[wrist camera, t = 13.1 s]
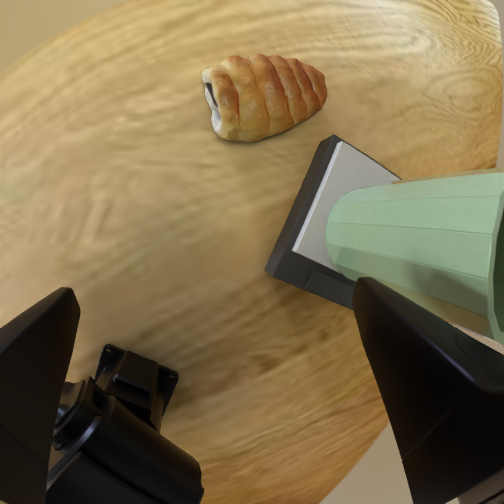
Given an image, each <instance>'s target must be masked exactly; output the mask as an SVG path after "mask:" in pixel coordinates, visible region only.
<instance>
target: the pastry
mask: <svg viewBox="0 0 504 504" xmlns="http://www.w3.org/2000/svg"><path fill="white" fill-rule="evenodd" d="M202 79H203V82H204V84H205V86H206V88H205V96H206V100H207V101H208V103H209V106H210V108H211V110H212V112H213V113H212V125H213V127H214V131H215V132H216V133H217V134H218V135H219V136H220V137H221V138H224V139H227V140H232V141H246V142H255V141H259V140H261V139H263V138H265V137H268V136H272V135H274V134H278V133H281V132H284V131H286V130H287V129H289V128H291V127H293V126H295V125H296V124H297V123H299V122H302V121H303V120H305V119H308V118H309V117H310V116H312V115H314V114H315V113H316V112H318V111H319V110H321V109H322V107H323V105H324V103H325V101H326V98H327V89H326V85H325V77H324V74H323V73H321V72H320V71H318V70H316V69H315V68H314V67H313V66H311V65H308V64H305V63H302V62H300V61H298V60H297V59H295V58H288V59H284V58H282V57H281V56H279V55H272V56H265V55H263V54H255V55H252V56H251V57H248V58H242V57H240V56H231V57H228V58H227V59H225V60H224V61H222V62H221V63H219V64H217V65H214V66H212V67H207V68H205V69H204V71H203V74H202Z"/></svg>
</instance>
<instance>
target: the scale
mask: <svg viewBox="0 0 504 504" xmlns="http://www.w3.org/2000/svg"><path fill="white" fill-rule="evenodd" d="M397 180H402V179H401V178H399V177H398V176H397V175H395V174H394V173H392V172H391V171H390V170H388V169H387V168H385V167H384V166H382V165H381V164H379V163H378V162H377V161H375V160H374V159H372V158H371V157H369V156H368V155H366V154H364V153H363V152H361V151H360V150H358V149H357V148H355V147H354V146H352V145H350V144H349V143H347V142H346V141H344V140H342V139H341V138H339V137H337V136H336V135H332V136H330V137H328V138H327V139H325V140H323V141H321V142H320V145H319V147H318V149H317V152H316V154H315V156H314V159H313V161H312V163H311V165H310V168H309V170H308V172H307V175H306V177H305V179H304V182H303V184H302V186H301V189H300V191H299V193H298V195H297V198H296V200H295V202H294V205H293V207H292V209H291V211H290V214H289V216H288V218H287V220H286V223H285V225H284V227H283V229H282V232H281V234H280V236H279V238H278V241H277V243H276V245H275V247H274V250H273V252H272V254H271V256H270V259H269V261H268V263H267V265H266V267H265V271H266V272H268V273H269V274H270V275H271V276H273V277H275V278H278V279H280V280H282V281H285V282H287V283H289V284H292V285H294V286H296V287H299V288H301V289H304V290H306V291H308V292H311V293H313V294H316V295H318V296H320V297H323V298H325V299H328V300H330V301H332V302H335V303H337V304H340V305H342V306H344V307H347V308H349V309H352V310H353V306H352V297H353V293H354V289H355V284H356V282H354V281H352V280H350V279H348V278H346V277H344V276H343V275H342V274H341V273H340V272H339V271H338V270H337V269H336V268H335V266H334V265H333V263H332V261H331V260H330V257H329V255H328V252H327V247H326V241H325V231H326V224H327V220H328V217H329V214H330V212H331V210H332V208H333V206H334V205H335V203H336V202H337V201H338V200H339V198H340V197H342V196H343V195H344V194H345V193H347V192H348V191H350V190H352V189H355V188H359V187H363V186H366V185H372V184H378V183H384V182H391V181H397Z"/></svg>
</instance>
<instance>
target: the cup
mask: <svg viewBox="0 0 504 504" xmlns="http://www.w3.org/2000/svg"><path fill="white" fill-rule="evenodd" d="M325 241H326V247H327V252H328V255H329V257H330V260H331V261H332V263H333V265H334V266H335V268H336V269H337V270H338V271H339V272H340V273H341V274H342V275H343V276H344V277H346V278H348V279H350V280H352V281H354V282H356V281H357V279H358V278H359V277H372V278H374V279H375V280H377V281H379V282H381V283H382V284H384V285H386V286H388V287H389V288H391V289H393V290H394V291H396V292H398V293H400V294H401V295H403V296H405V297H406V298H408V299H410V300H411V301H413V302H415V303H416V304H418V305H420V306H421V307H423V308H425V309H426V310H428V311H430V312H431V313H433V314H435V315H436V316H438V317H440V318H441V319H443V320H445V321H447V322H449V323H452V324H454V325H456V326H458V327H461V328H463V329H465V330H468V331H470V332H472V333H475V334H477V335H479V336H481V337H483V338H486V339H488V340H490V341H493V342H495V343H497V344H499V345H501V346H504V167H502V168H492V169H482V170H473V171H465V172H456V173H448V174H440V175H433V176H425V177H418V178H411V179H404V180H397V181H391V182H384V183H378V184H372V185H366V186H363V187H359V188H355V189H352V190H350V191H348V192H347V193H345V194H344V195H343V196H342V197H340V198H339V200H338V201H337V202H336V203H335V205H334V206H333V208H332V210H331V212H330V214H329V217H328V220H327V224H326V231H325Z"/></svg>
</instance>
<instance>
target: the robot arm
mask: <svg viewBox="0 0 504 504" xmlns="http://www.w3.org/2000/svg"><path fill="white" fill-rule="evenodd" d="M352 306H353V310H354V313H355V317H356V321H357V324H358V328H359V332H360V336H361V340H362V343H363V346H364V349H365V352H366V355H367V357H368V360H369V363H370V365H371V368H372V371H373V374H374V376H375V379H376V382H377V385H378V388H379V390H380V393H381V396H382V399H383V402H384V405H385V408H386V411H387V414H388V417H389V420H390V423H391V426H392V429H393V432H394V436H395V439H396V442H397V445H398V449H399V452H400V455H401V459H402V463H403V466H404V470H405V474H406V477H407V481H408V485H409V488H410V492H411V496H412V500H413V504H445V503H447V502H449V501H451V500H453V499H454V498H456V497H457V498H458V501H459V504H504V355H503V354H501V353H499V352H497V351H495V350H494V349H492V348H490V347H488V346H486V345H485V344H483V343H481V342H479V341H477V340H476V339H474V338H472V337H470V336H469V335H467V334H466V333H464V332H462V331H461V330H459V329H457V328H456V327H453V325H451V324H449V323H448V322H446V321H445V320H443V319H441V318H440V317H438V316H436V315H435V314H433V313H431V312H430V311H428V310H426V309H425V308H423V307H421V306H420V305H418V304H416V303H415V302H413V301H411V300H410V299H408V298H406V297H405V296H403V295H401V294H400V293H398V292H396V291H394V290H393V289H391V288H389V287H388V286H386V285H384V284H382V283H381V282H379V281H377V280H375V279H374V278H372V277H359V278H358V279H357V281H356V284H355V289H354V293H353V297H352ZM80 313H81V312H80V306H79V304H78V301H77V299H76V296H75V294H74V291H73V290H72V288H69V287H61V288H59V289H57V290H56V291H54V292H53V293H51V294H50V295H48V296H47V297H45V298H44V299H42V300H41V301H39V302H38V303H36V304H35V305H33V306H32V307H30V308H29V309H27V310H26V311H24V312H23V313H21V314H20V315H19V316H17V317H16V318H14V319H13V320H11V321H10V322H9V323H7V324H6V325H4V326H3V327H2V328H0V504H200V502H201V500H202V497H203V494H204V488H203V487H202V485H201V469H200V466H199V463H198V462H197V461H196V460H195V459H194V458H193V457H192V456H191V455H189V454H188V453H186V452H185V451H183V450H182V449H180V448H179V447H177V446H176V445H175V444H173V443H172V442H170V441H169V440H168V439H166V438H165V437H164V436H162V435H161V434H160V428H161V420H162V417H163V415H164V413H165V410H166V408H167V405H168V403H169V401H170V398H171V396H172V393H173V391H174V389H175V386H176V384H177V381H178V377H179V375H178V373H177V372H176V371H174V370H171V369H169V368H166V367H163V366H161V365H158V364H157V362H155V361H152V360H150V359H147V358H145V357H142V356H140V355H137V354H135V353H133V352H130V351H124V350H122V349H120V348H118V347H115V346H113V345H111V344H106V345H104V347H103V349H102V352H101V356H100V359H99V363H98V367H97V371H96V375H95V379H93V378H92V377H91V376H88V377H87V378H86V379H85V380H84V379H82V380H81V381H80V382H79V383H70V382H65V379H66V375H67V371H68V367H69V364H70V360H71V356H72V352H73V348H74V343H75V337H76V333H77V328H78V323H79V319H80ZM106 349H110V351H111V352H108V351H107V350H106ZM171 375H173V376H175V378H171V377H170V376H171ZM64 382H65V383H64Z"/></svg>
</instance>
